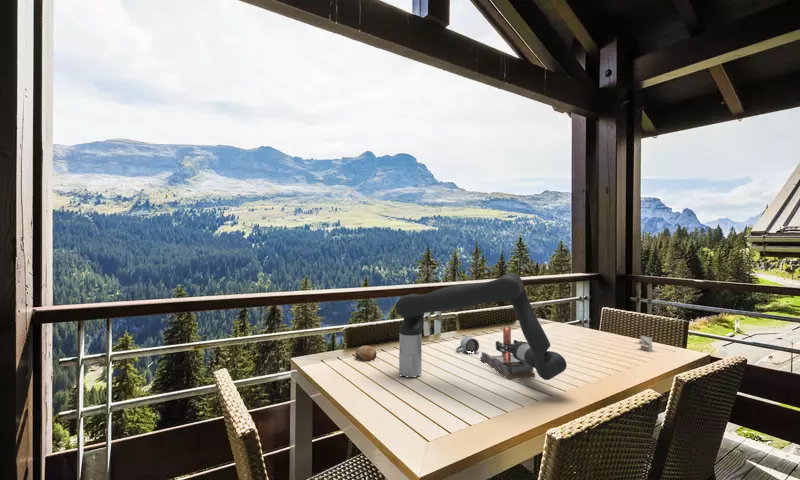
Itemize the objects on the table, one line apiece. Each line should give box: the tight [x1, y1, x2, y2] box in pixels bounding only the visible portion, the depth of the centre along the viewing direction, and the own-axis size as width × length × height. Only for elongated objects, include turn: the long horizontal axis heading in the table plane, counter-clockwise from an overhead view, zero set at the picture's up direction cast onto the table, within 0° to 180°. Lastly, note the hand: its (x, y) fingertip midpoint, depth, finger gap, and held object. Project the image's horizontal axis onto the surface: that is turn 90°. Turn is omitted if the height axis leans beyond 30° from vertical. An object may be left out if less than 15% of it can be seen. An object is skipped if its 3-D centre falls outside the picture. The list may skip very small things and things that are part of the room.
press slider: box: [494, 326, 521, 367], centre depth 170 cm, size 8×8×16 cm
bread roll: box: [354, 345, 377, 362], centre depth 185 cm, size 10×10×8 cm
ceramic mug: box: [455, 335, 480, 354], centre depth 196 cm, size 11×8×8 cm
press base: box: [480, 351, 536, 380], centre depth 171 cm, size 26×12×5 cm, turn 13°
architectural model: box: [634, 335, 653, 353], centre depth 199 cm, size 3×7×7 cm, turn 27°
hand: (505, 342), depth 172 cm, fingers open, 8 cm apart
